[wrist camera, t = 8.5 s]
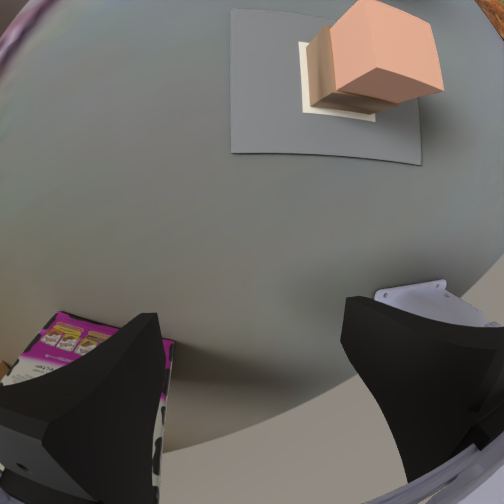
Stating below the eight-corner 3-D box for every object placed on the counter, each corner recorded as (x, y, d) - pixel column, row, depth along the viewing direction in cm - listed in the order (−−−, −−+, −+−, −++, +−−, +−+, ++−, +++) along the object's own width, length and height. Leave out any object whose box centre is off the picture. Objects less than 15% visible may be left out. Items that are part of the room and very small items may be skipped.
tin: (452, -25, 13) (485, -41, 5) (456, -28, 12) (488, -43, 4) (510, 53, 17) (546, 48, 9) (512, 47, 17) (546, 42, 9)
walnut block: (364, 59, 16) (391, 42, 13) (369, 114, 18) (400, 106, 14) (305, 47, 16) (325, 24, 12) (309, 106, 17) (332, 92, 13)
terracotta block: (389, 45, 13) (429, 23, 8) (397, 103, 14) (444, 90, 10) (329, 29, 12) (363, -5, 8) (336, 90, 13) (376, 67, 9)
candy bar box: (62, 353, 20) (-10, 485, 5) (57, 308, 19) (-47, 443, 3) (172, 382, 22) (159, 551, 7) (177, 339, 21) (157, 538, 6)
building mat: (406, 44, 17) (409, 43, 16) (418, 165, 20) (421, 165, 19) (230, 11, 15) (230, 7, 14) (231, 153, 18) (231, 152, 17)
